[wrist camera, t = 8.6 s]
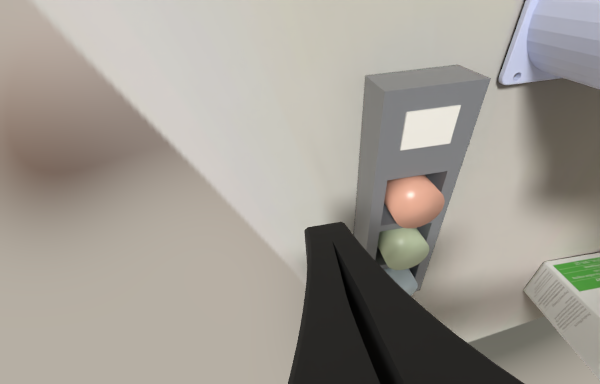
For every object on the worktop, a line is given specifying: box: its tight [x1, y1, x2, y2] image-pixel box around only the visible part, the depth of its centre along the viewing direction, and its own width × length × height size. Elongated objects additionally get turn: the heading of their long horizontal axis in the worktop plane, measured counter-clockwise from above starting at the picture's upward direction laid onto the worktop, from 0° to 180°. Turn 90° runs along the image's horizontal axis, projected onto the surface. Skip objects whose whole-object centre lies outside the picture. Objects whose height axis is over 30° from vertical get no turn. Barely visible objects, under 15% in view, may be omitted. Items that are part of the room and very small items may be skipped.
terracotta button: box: [384, 175, 445, 228], centre depth 20 cm, size 4×4×3 cm
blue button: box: [384, 268, 418, 296], centre depth 26 cm, size 4×4×3 cm
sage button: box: [378, 228, 429, 270], centre depth 23 cm, size 4×4×3 cm
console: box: [354, 65, 491, 291], centre depth 22 cm, size 6×20×3 cm, turn 4°
